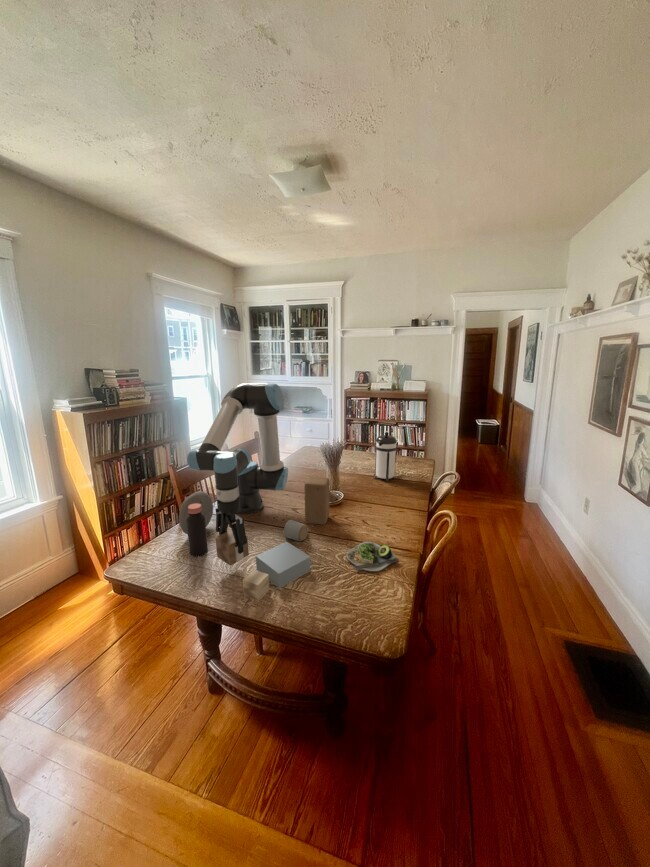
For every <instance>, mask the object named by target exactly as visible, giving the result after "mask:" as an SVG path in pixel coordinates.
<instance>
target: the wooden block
mask: <svg viewBox="0 0 650 867" xmlns="http://www.w3.org/2000/svg"><path fill="white" fill-rule="evenodd" d="M329 517H330V478H328V477H321V476H309V477H308V478H307V480H306V481H305V483H304V521H305V522H304V523H306V524H313V525H322V526H323V525H326V524H327V521H328V518H329Z"/></svg>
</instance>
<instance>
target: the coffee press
mask: <svg viewBox="0 0 650 867" xmlns="http://www.w3.org/2000/svg"><path fill="white" fill-rule="evenodd" d="M375 442H376V443H375V459H374V460H375V461H374V462H375V463H374V473H373V476H372V478H373V479H376V478H379V479H384V480H385V482H386V483H389V482H390V481H389V479H392V478H394V479H397V476H396V462H397V452H398V451H397V450H398V449H397V443H398V440H397V439H396V437H395V436H393V435H389V432H388V431H386V432H385V433H384V434H382V435H379V436H377V438H376V439H375Z"/></svg>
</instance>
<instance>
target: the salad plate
mask: <svg viewBox="0 0 650 867" xmlns="http://www.w3.org/2000/svg"><path fill="white" fill-rule="evenodd" d="M357 553H359V557H358V558H359V560H356V559H355V556H356V554H357ZM346 559H347V561H349V563H350V564H352V565H353V570H355V571H359V570H360V571H363V570H364V571H366V572H380V571H382V570H384V569H385V568H387V567H388V566H390V565H392V564H394V563H397V562H398V561H399V560H400V558H396V554H395V553H394V552H392V550H391V547H390V546H389V545H388V544H383V545H379V544H378V543H375V542H372V541H365V542H364V541H363V542H361V543H360V544H357V545H356V546H354V547H353V548H351V549H349V550H348V551H347V552H346Z"/></svg>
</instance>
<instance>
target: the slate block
mask: <svg viewBox="0 0 650 867" xmlns="http://www.w3.org/2000/svg"><path fill="white" fill-rule="evenodd" d="M255 565H256V569H255V570H257V571H260V572H263V573H266V574H269V582H271V583H272V584H273V585H275V586H276V587H277V588H278V589H281V588H282V587H284V586H285V585H287V584H290V583H292V582H294V581H295V580H296V579H298V578H300V577H302V576H304V575H305V574H307V573H309V572H310V571H311V556H309V555H308V554H306V552H303V551H302V550H301V549H299V548H297V547H296V546H294V544H293V545H292V544H291V543H289V542H288V541H285V542H282V543H281V544H279V545H276V546H273V547H272V548H270V549H268V550H265V551H263V552H261V553H260V554H258V555H255Z"/></svg>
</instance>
